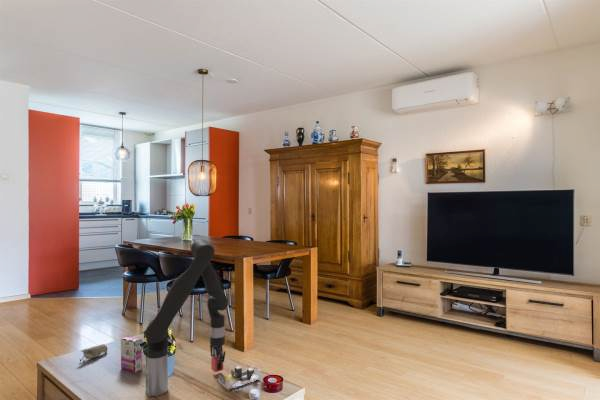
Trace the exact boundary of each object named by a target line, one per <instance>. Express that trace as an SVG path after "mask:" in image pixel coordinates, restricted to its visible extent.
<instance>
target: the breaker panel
mask: <svg viewBox="0 0 600 400" xmlns="http://www.w3.org/2000/svg"><path fill="white" fill-rule="evenodd" d="M249 380H250V379H249V378H248V377H247V369H245V370H242V376H239V377H237V373H236V372H235V370H234V369H230V374H227V375H223V374H221V373H220V372H219V373H218V378H217V382H219V384H221V386H223V388H225V389H226V391H227V392H228V391H231V390H230V389H231V386H232V384H234V383H236V382H238V381H242V382H244V383H248V382H249Z"/></svg>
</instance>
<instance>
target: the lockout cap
mask: <svg viewBox="0 0 600 400" xmlns="http://www.w3.org/2000/svg"><path fill="white" fill-rule="evenodd" d="M218 356H220V355H218ZM210 357H211V356H210ZM210 366H211V367H210V368H211V371H213V372H214V373H217V372H221V371H223V370H224V362H222V369H221V370H217V358H216V356H214V357H211V365H210Z"/></svg>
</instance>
